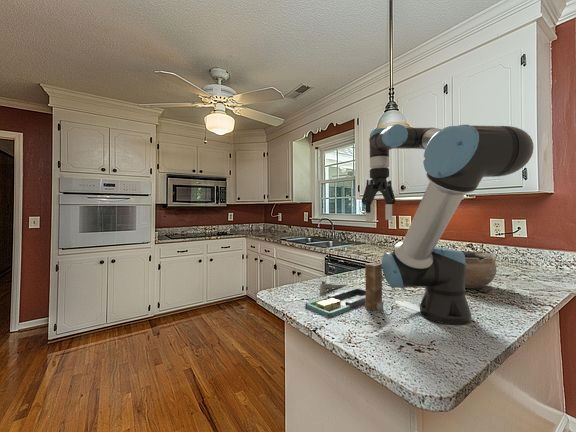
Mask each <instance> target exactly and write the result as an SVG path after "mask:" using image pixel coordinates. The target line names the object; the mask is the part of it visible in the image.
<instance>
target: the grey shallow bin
mask: <svg viewBox="0 0 576 432" xmlns="http://www.w3.org/2000/svg"><path fill="white" fill-rule="evenodd" d="M326 298H327V299H331V298H334V299H337V300H340V301H341V307H344V306H347V305H349V306H350V310H354V309H355V308H358V307H362V306H363V305H364V306H365V299H366V289H364V288H360V287H356V286H354V287H352V288H351V287H350V288H348V289H345V290H342V291H337V292H335V293H331V294H328V295H327V296H326Z"/></svg>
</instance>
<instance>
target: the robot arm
mask: <svg viewBox="0 0 576 432" xmlns="http://www.w3.org/2000/svg"><path fill="white" fill-rule="evenodd" d="M368 142H369V168H370V170H369V178H370V179H366V185H365V189H364V192H363V195H362V199H361V203H362V205H365V221H366V222H373V221H374V214H373V213H374V206H373V201H374V200H375V198H376V195H377V193H378V192H380V193H381V195H382V196H383V199H384V201H385V202H386V204H385V205H384V207H385V211H384V212H385V220H386V221H387V220H388V221H390V220H391V221H392V220H393V205H395V204H396V201H397V200H396V197H395V193H394V190H393V186H392V180H387V179H389V177H390V169H389V167H390V150H393V149H403V150H404V149H407V150H409V149H417V150H424V153H423V158H424V160H423V161H422V162H423V167H424V170H425V172H426V178H427V180H428V181H429V182H428V185H427V186H426V189H425V192H424V194H423V196H422V199H421V200H420V202H419V204H418V207H417V209H416V212H415V214H414V216H413V218H412V221H411V222H410V225H409V226H408V227H409V228H408V229H407V232H406V234H405V235H404V239H403V240H401V241H399V242H398V243H396V244H395V246H394V249H393V250H392V251H387V252H385V253H383V255H382V259H381V264H382V274H383V276H384V279H385V281H386V283H387V284H388V285H389V286H390V287H392V288H400V289H404V288H405V289H407V288H408V289H409V288H423V287H424V288H425V289H424V290H425V291H424V293H423V296H422V299H421V302H420V304H419V313H420V315H421V316H423V317H424V318H425V319H427V320H430V321H433V322H436V323H440V324H446V325H453V326H454V325H455V326H461V325H462V326H463V325H467V324H470V323H471V322H472V312H471V309H470V307H469V306H470V305H469V303H468V301H467V300H468V299H467V297H466V288H465V266H466V263H465V255H464V253H463V252H461V251H462V250H458V249H453V248H448V247H441V246H437V244H438V243H439V241H440V239H441V237H442V236H443V234H444V232H445V230H446V228H447V227H448V225H449V224H450V221H451V219H452V217H453V216H454V214H455V212H456V211H457V208H459V206H460V205H461V204H460V203H461V202H462V200H463V198H464V197H465V195H466V194H469V193H473V192H474V191H476V189H477V187H478V186H479V185H480V183H481V181H482V179H483V178H489V177H492V178H494V177H498V178H499V177H504V176H509V175H511V174H515V173H516V172H518V171H520V170H521V169H522V168H524V167H525V166H526V165H527V164H528V163H529V161H530V160H531V158H532V157H533V153H534V148H535V146H534V142H533V139H532V137H531V136H530V134H529V133H528V132H526V130H523V129H521V128H519V127H516V126H512V125H511V126H510V125H470V124H459V125H449V126H446V127H443V128H438V127H437V128H436V127H405V126H404V125H402V123H401V124H400V123H395V124H393V125H390V126H388V127H378V128H374V129H372V130H370V132H369V138H368Z"/></svg>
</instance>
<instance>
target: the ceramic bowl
mask: <svg viewBox="0 0 576 432" xmlns="http://www.w3.org/2000/svg"><path fill="white" fill-rule="evenodd" d="M460 251H461V252H463V253H464V255H465V263H466V266H465V289H482V288H484V287H487V286H488V285H489V284H490V283H491V282H493V280H494V279H495V276H496V274H497V265H496V260H497V257H498V256H497V255H495V254H494V253H493V254H492V253H491V254H489V253H485V252H479V251H478V252H477V251H468V250H460Z"/></svg>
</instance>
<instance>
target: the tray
mask: <svg viewBox="0 0 576 432" xmlns="http://www.w3.org/2000/svg"><path fill="white" fill-rule="evenodd" d="M323 300H327V296H326V297H325V296H324V297H321V298H318V299H315V300H312V301H309V302H306V303H305V308H306V309H309V310H310V311H314V312H316V313H318V314H321V315H323V316H324V317H327V318H333V317H334V316H338V315H340V314H342V313H346V312H348V311H350V310H351V309H350V306H349V305H347V306H344V307H343V306H341V307H340V308H337V309H334V310H330V311H326V310H324V309H321V308H319V307H316V302H319V301H323Z"/></svg>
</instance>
